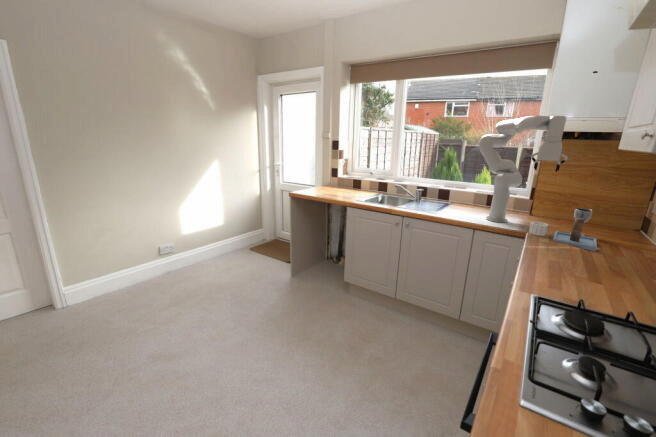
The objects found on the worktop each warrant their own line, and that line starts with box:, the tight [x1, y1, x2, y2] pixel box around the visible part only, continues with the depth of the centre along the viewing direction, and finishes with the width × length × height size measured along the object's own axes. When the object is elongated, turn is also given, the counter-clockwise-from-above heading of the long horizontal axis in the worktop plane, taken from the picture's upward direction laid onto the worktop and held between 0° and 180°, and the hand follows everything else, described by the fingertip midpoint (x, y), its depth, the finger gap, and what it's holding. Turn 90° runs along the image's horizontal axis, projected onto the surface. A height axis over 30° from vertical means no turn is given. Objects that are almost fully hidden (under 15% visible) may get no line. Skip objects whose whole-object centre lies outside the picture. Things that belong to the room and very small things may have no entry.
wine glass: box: [569, 207, 593, 237], centre depth 177 cm, size 8×8×15 cm
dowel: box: [570, 218, 585, 242], centre depth 163 cm, size 4×4×12 cm
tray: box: [552, 230, 598, 252], centre depth 164 cm, size 18×18×2 cm
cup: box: [528, 221, 549, 237], centre depth 174 cm, size 8×8×7 cm
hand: (545, 170), depth 171 cm, fingers open, 9 cm apart
